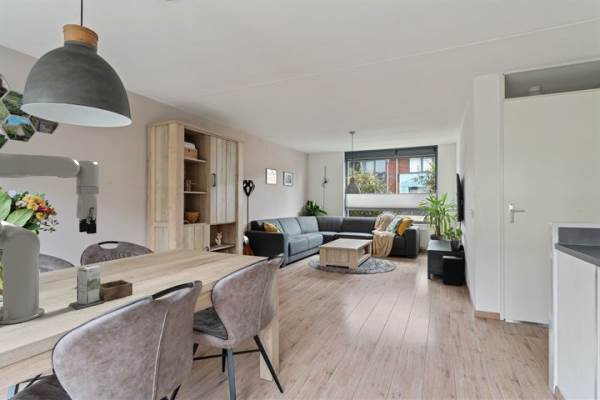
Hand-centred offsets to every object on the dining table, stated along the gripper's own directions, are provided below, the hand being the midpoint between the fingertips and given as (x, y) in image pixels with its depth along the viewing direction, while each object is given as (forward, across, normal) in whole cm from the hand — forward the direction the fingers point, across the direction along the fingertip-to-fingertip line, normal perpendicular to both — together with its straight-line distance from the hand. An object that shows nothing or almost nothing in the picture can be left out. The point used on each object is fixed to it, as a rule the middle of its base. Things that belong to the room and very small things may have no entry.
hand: (87, 232), depth 121 cm
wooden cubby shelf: (+29, -2, +10) cm, 31 cm away
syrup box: (+28, +1, 0) cm, 28 cm away
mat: (+29, +2, -1) cm, 29 cm away
